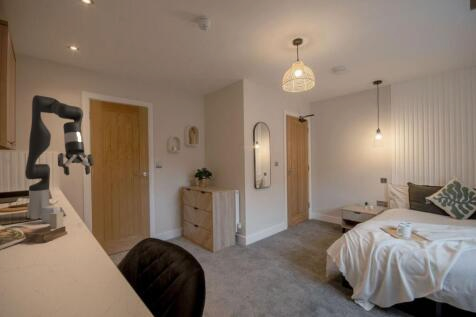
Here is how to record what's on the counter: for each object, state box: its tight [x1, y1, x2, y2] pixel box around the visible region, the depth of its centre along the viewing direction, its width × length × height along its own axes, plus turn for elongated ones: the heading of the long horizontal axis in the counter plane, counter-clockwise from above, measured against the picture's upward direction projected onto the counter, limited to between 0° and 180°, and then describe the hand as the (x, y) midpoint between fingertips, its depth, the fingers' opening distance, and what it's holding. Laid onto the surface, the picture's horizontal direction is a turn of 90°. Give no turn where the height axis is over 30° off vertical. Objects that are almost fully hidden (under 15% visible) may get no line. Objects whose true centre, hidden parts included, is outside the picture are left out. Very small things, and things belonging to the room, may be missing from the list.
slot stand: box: [23, 225, 68, 244], centre depth 103 cm, size 11×11×4 cm
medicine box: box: [41, 205, 61, 224], centre depth 126 cm, size 8×4×9 cm, turn 84°
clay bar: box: [49, 211, 64, 230], centre depth 117 cm, size 4×4×8 cm
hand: (77, 174), depth 105 cm, fingers open, 8 cm apart
